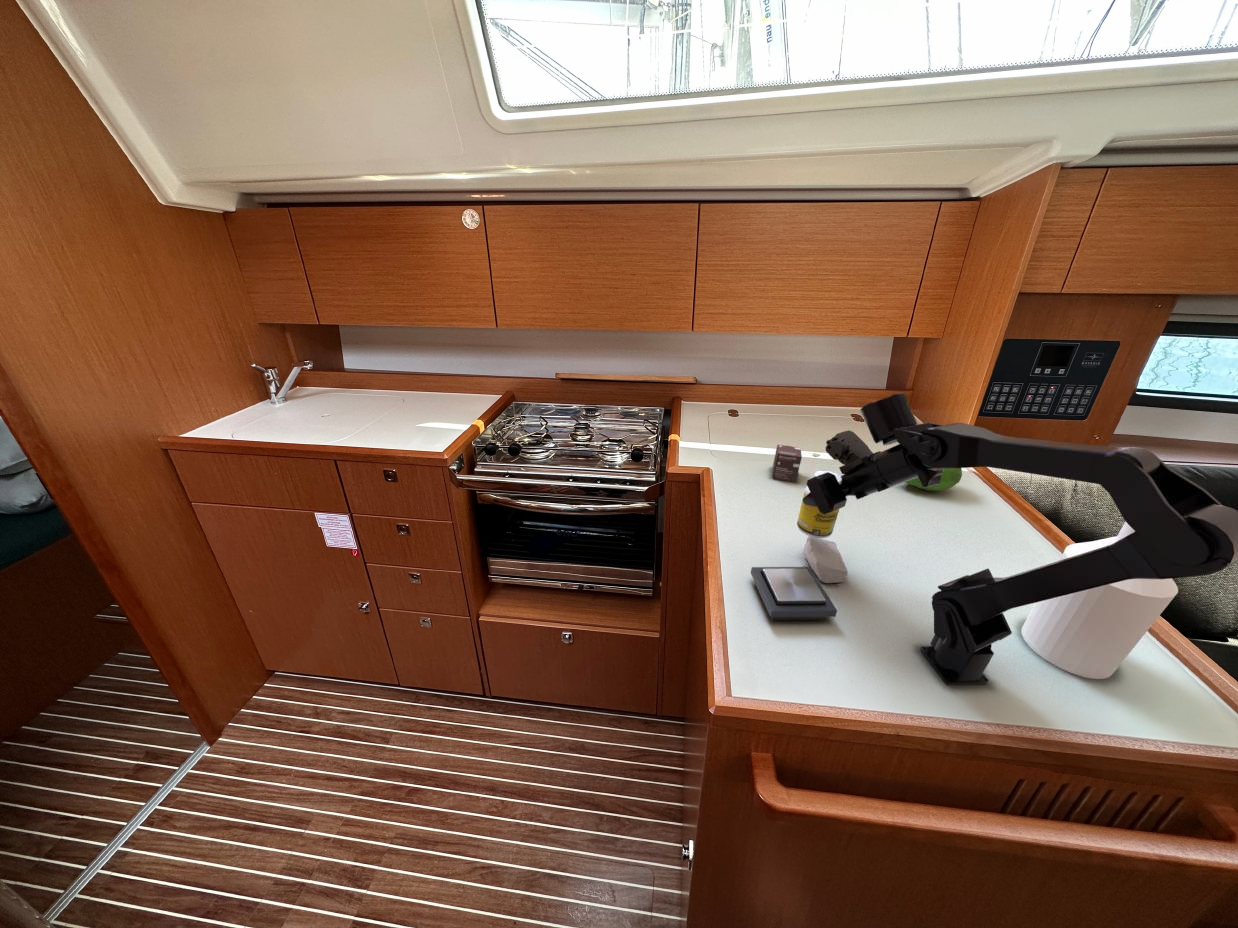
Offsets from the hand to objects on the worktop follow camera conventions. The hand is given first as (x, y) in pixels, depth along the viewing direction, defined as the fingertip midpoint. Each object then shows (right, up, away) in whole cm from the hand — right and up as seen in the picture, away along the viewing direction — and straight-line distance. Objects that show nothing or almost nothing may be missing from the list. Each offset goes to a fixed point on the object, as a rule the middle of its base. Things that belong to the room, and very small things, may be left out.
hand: (815, 497), depth 88 cm
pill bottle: (+1, -7, +2) cm, 7 cm away
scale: (-7, -18, -6) cm, 20 cm away
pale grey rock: (+2, -14, +3) cm, 14 cm away
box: (+7, +3, +36) cm, 37 cm away
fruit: (+41, 0, +32) cm, 52 cm away
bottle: (+34, -23, -13) cm, 44 cm away
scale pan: (-7, -15, -7) cm, 19 cm away
